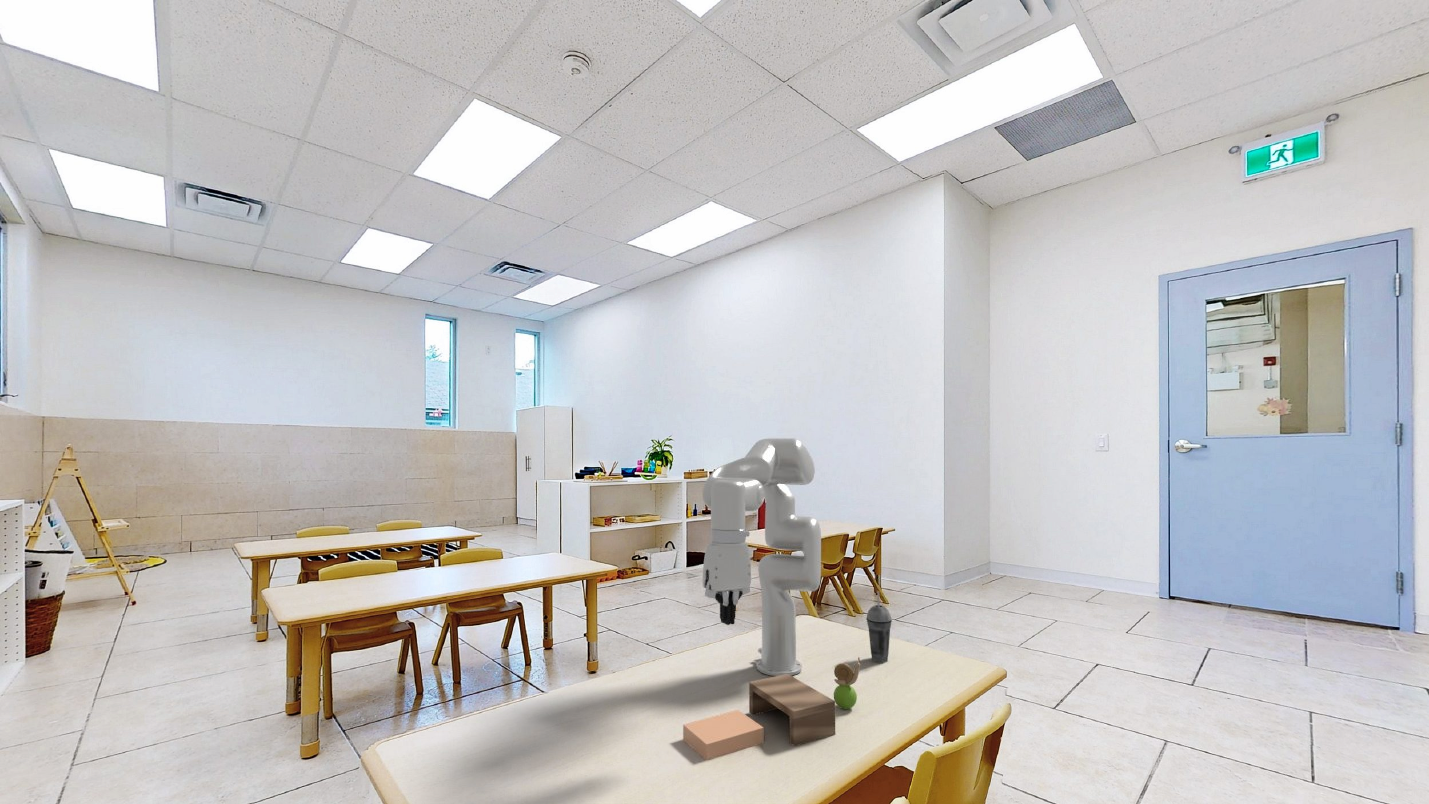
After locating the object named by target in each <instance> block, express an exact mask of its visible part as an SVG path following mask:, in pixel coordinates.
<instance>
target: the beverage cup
mask: <svg viewBox="0 0 1429 804" xmlns="http://www.w3.org/2000/svg"><path fill="white" fill-rule="evenodd" d="M876 595H877V596H876V597H877V604H875V605H873V606H871V607H870V608H869V610H868V611H867V613H866V623H867V626H868V636H869V647H870V654H871V660H872V661H873V662H876V663H880V664H881V663H887V662H889V661H888V660H889V659H888V658H889V652H890V651H889V650H890V636H891V626H892V622H893V620H892V616H891V613H890V611H889V610H888V609H887V607H886V606H883V605H881V604H880V590H877V594H876Z"/></svg>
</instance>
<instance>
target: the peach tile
mask: <svg viewBox="0 0 1429 804" xmlns="http://www.w3.org/2000/svg"><path fill="white" fill-rule="evenodd" d="M764 728H765V727H763V726H762V725H760V724H759V723H758V722H756V721H755V720H754V719H752V718H751V717H749V716H747V715H746V714H745V713H743V712H742V711H740V710H739V709H736V710H732V711H729V712H726V713H722V714H718V715H713V716H710V717H706V718H703V719H699V720H696V721H695V720H694V721H691V722H688V723H684V724H683V725H682V740H683V741H684V742H686V743H687V744H688V745H689V746H690V747H691V748H692V749H693V750H694V751H696V753H698V754H699V755H701V757H702V758H703V759H705V760H706V761H707V760H708V761H709V760H711V759H714V758H718V757H721V756H724V755H727V754H732V753H735V752H737V751H741V750H743V749H747V748H751V747H754V746H756V745H760V744H763V743H764V739H765V738H764V736H765V735H764V733H765V731H764V730H765V729H764Z"/></svg>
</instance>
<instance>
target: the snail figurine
mask: <svg viewBox="0 0 1429 804" xmlns="http://www.w3.org/2000/svg"><path fill="white" fill-rule="evenodd" d="M857 660H858V661H856V662H855V663H854V664H853V665H854V669H853V668H852V667H851V665H850V664H847V663H845V662H844V663H843V662H841V663H838V664H837V665H836V666H835V667H834V668H833V669H834V670H833V673H834V677H836V679H834V682H835V683H836V684H837V686H836V687H835V689H834V690H833V700H834V701H835V705H836V706H837V707H839V708H841V709H843V710H849V709H852V708H853V707H854V706H855V705H856V703H857V700H858V695H857V692H856V690H855V688H854V687H853V686H851V685H854V684H855V683H856V682H857V679H858V677H859V672H860V668H861V663H860V661H861V657H860V656H858V657H857ZM853 670H854V671H853Z"/></svg>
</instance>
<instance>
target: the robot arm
mask: <svg viewBox="0 0 1429 804" xmlns="http://www.w3.org/2000/svg"><path fill="white" fill-rule="evenodd" d="M809 452H810V451H808V448H807V447H806V445H804V443H803V441H800V440H799V439H797V438H772V437H771V438H764V439H760V440H758V441H756V442H755V443H754V445H753V446H752V447H751V448H750V450H749V451H748V452H747V454H746V455H745V456H744V457H741V458H739V459H736V460H733V461H731V462H727V463H725V464H723V465H720V466H719V467H717V468H715V469H714V470H713V471H712V473H710V475H709V476H708V477H707V478H706V480H705V482H704V484H703V488H702V494H701V495H702V500H703V503H704V505H705V506H706V507H707V508H709V509H710V542H708V543H707V544H706V548H705V553H704V559H703V568H702V587H703V588H705V591H704V596H705V597H707V598H709V599H714V600H715V601H717V603H718V604H719V618H720V621H721V623H722V624H725V625H727V626H729V625H735V622H736V621H735V619H736V606H737V605H738V603H739V600H740V599H741V597H742V596H743V595H747V594H749V593H750V592H751V587H750V586H751V584H752V565H751V556H750V549H749V544H748V542H746V539H747V537H749V536H750V531H749V530H747V529H746V512H753V511H757V510H758V509H759V508H760V507H761V506H762V505H763V503H764V502H765V515H764V518H765V519H764V520H765V521H764V539H765V543H766V545H767V546H768V547H769V548H771V549H775V550H784V551H799V552H800V551H801V552H802V553H803V555H796V554H795V555H794V554H793V555H792V554H781V553H771V554H767V555H765V556H763V557H762V558H761V559H760V560H759V562H758V565H757V566H758V568H757V569H758V578H759V584H760V592H761V594H760V595H761V647H759V648H758V650H757V652H758V653H759V654H760V658H761V659H759V660H758V661H757V662H756V669H757V671H758V672H760V673H762V674H764V675H767V676H770V677H775V676H780V675H784V674H789V675H791V676H795V675H797V674H799V673H800V672H801V671H802V668H803V666H802V663H801V662H800V661H799V660H797V621H796V620H797V618H796V617H797V615H796V612H797V611H796V610H797V609H796V607H797V606H796V603H795V600H794V598H793V597H792V595H791V593H790V592H789V591H797V592H798V591H800V592H815V591H817V590H818V589H819V587H820V584H821V577H822V531H821V526H820V523H819V521H818V520H817V519H816V518H814V517H810V516H799V515H798V516H797V515H796V498H795V495H794V494H793V492H792V490H791V489H790V488H789V486H788V485H790V486H791V485H792V486H793V485H795V486H797V485H798V486H803V485H804V486H805V485H809V484H810V483H812V481H813V480H814V477H815V473H816V472H815V471H816V470H815V463H814V461H813V458H812V456H811V454H810V453H809Z"/></svg>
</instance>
